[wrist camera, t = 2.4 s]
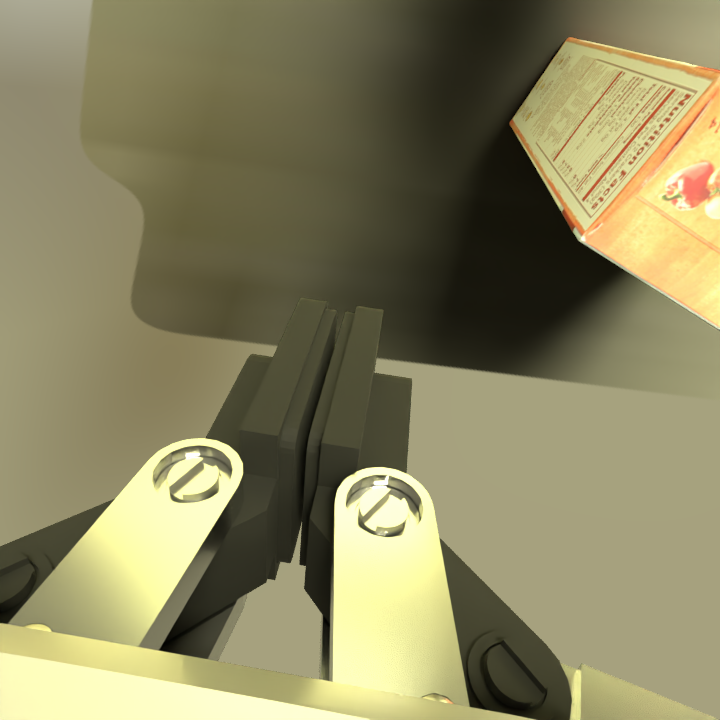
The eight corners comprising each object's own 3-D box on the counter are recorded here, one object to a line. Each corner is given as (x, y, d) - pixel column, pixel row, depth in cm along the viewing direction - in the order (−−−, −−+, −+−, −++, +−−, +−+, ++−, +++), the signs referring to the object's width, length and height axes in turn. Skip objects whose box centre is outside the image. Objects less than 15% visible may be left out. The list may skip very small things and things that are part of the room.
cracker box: (747, 154, 33) (1077, 325, 16) (669, 233, 36) (875, 443, 19) (570, 25, 30) (739, 62, 13) (504, 122, 34) (571, 252, 17)
